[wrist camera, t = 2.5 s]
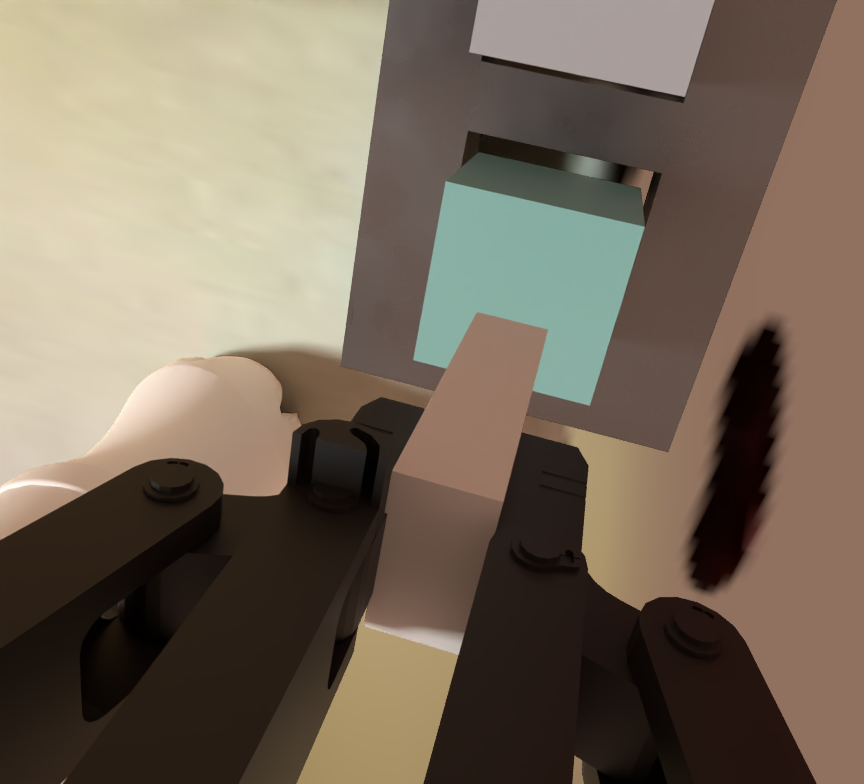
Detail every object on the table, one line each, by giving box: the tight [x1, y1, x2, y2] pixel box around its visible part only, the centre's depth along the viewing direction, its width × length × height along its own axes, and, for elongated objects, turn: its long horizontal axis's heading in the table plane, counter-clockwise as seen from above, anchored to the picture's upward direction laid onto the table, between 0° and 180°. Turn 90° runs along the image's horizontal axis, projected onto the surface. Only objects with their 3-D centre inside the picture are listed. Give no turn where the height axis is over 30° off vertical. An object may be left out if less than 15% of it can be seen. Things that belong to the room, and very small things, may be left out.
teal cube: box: [413, 152, 645, 406], centre depth 22 cm, size 5×5×5 cm
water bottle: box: [0, 356, 301, 784], centre depth 23 cm, size 7×7×25 cm
